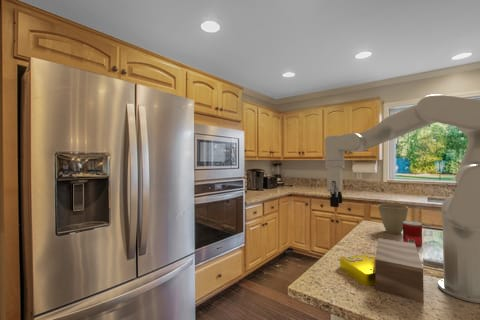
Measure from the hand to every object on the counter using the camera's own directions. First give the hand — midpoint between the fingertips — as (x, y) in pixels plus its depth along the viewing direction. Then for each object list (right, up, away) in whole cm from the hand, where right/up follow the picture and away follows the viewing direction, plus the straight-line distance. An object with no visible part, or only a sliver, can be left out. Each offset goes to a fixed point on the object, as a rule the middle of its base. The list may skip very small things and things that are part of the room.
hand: (336, 204), depth 97 cm
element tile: (+8, -25, -10) cm, 28 cm away
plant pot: (+51, -25, +40) cm, 69 cm away
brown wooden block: (+16, -24, -14) cm, 32 cm away
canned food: (+48, -24, +20) cm, 57 cm away
